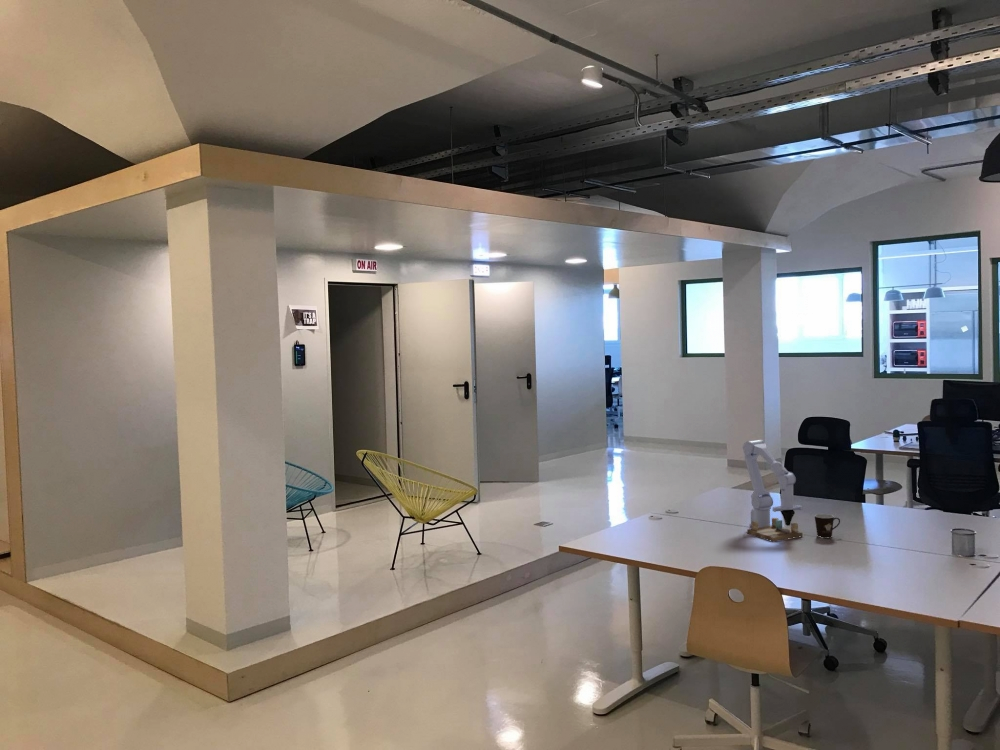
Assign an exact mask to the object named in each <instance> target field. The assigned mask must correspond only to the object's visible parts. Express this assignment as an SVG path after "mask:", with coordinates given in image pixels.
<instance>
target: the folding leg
mask: <svg viewBox="0 0 1000 750" xmlns="http://www.w3.org/2000/svg"><path fill="white" fill-rule="evenodd" d="M782 527H783V520H782V519H779V520H776V529H779V530H781V531H783V532H785V533H789V530H785V529H783V528H782Z"/></svg>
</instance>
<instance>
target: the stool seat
mask: <svg viewBox="0 0 1000 750" xmlns="http://www.w3.org/2000/svg"><path fill="white" fill-rule="evenodd" d="M776 520H780V519H779V517H772V518H771V524H770V525H771V526H765V527H758V522H757V521H751V520H750V524H751V525H750V528H747V531H746V532H747V533H748V535H751V534H752V535H751V536H754V535H755V536H754V537H757V536H758V537H757V538H760V537H761V538H760V539H763V538H765V539H764V540H766V539H768V540H767V541H769V540H771V541H770V542H773V541H775V542H778V541H777V540H781V541H784V540H783V539H787V540H789V539H788V538H792V539H794V538H793V537H798V538H800V537H799V536H803V532H802V531H799V523H797V522H796V523H795V522H792V523H790V528H787V527H784V526H782V528H783V529H785V530H789V533H785V532H783V531H781V530H779V529H776Z"/></svg>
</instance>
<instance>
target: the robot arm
mask: <svg viewBox="0 0 1000 750" xmlns="http://www.w3.org/2000/svg"><path fill="white" fill-rule="evenodd" d="M742 450H743V455H744V460H745V463H746V468H747V472H748V475H749V478H750V482H751V485H752V490H753V492H752V493H751V495H750V498H751V502H750V503H751V506H752V508H751V509H750V522H751V521H757V522H758V528H759V527H765V526H771V525H772V524H771V509H772V512H775V513H776V512H780V513H781V515H782V517H783V520H784V524H785V525H786V526H789V527H791V522H792V520H793V517H794V515H795V514H796V513H795V511H803V505H800V504H799V505H795V504H794V501H795V499H794V484H796V481H797V478H796V476H795V474H794V473H793V472H791V471H788V470H787V468H786V467H785V466H784V465H783V463H782V462H780V461H777V460H776V459H775V457H774V456H773V455H772V453H771V452H770V451H769V450H768V447H767V444H766V443H765V441H764V440H762V439H756V440H746V441H745V442H744V444H743V445H742ZM759 456H761V457H762V459H764V460H765V461H766V463H767V464H768V465H770V468H769V469H770V470H771V471H772V473H773V474H774V475H775V476H776V477H777V482H778V484H779V488H780V503H781V505H778V506H773V505H774V499H773V497H772V496H771V493H770V491H768V490H767V489H766V488H765V484H764V482H763V481H764V480H763V479H762V474H761V470H760V467H759V464H758V461H757V459H758V457H759ZM749 525H750V526H751V523H749Z"/></svg>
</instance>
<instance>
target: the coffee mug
mask: <svg viewBox="0 0 1000 750" xmlns="http://www.w3.org/2000/svg"><path fill="white" fill-rule="evenodd" d="M835 520H837V521H838V523H837V525H835V526H834V521H835ZM814 522H815V527H816V529H815V530H816V535H818V536H821V537H831V536H832V537H833V531H834V530H835V529H836V528H837V527H838V526H840V524H841V519H840V518H838V517H835V516H834V515H833V514H829V513H818V514H814ZM818 536H817V537H818ZM832 537H831V538H832Z"/></svg>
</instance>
